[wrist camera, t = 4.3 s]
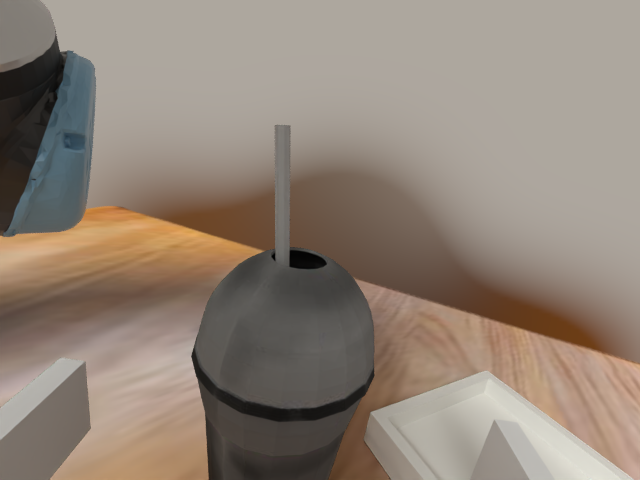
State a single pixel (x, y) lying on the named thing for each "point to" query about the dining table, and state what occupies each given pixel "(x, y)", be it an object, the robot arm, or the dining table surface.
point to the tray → (473, 434)
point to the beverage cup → (282, 356)
